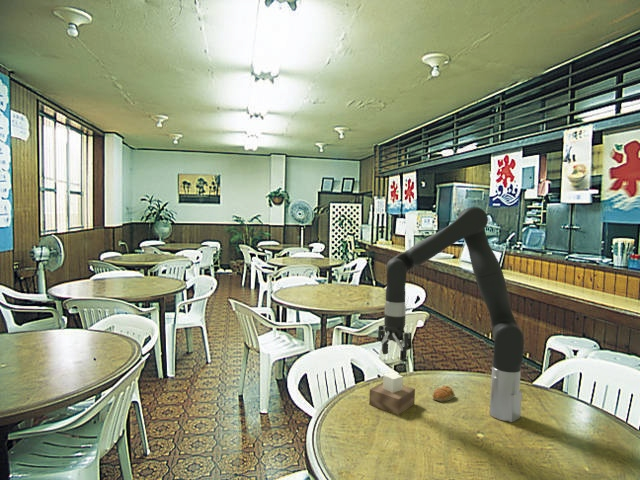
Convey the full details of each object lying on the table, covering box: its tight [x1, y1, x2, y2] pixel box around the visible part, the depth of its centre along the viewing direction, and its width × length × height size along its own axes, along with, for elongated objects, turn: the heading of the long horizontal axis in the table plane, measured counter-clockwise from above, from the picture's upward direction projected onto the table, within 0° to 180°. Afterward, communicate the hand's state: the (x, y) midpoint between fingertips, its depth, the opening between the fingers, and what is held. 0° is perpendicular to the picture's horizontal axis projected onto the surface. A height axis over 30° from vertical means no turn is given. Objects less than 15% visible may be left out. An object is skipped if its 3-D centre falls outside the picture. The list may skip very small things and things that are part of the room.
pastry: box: [432, 385, 456, 403], centre depth 166 cm, size 9×7×4 cm
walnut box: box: [368, 382, 416, 416], centre depth 159 cm, size 12×12×6 cm
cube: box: [382, 371, 404, 393], centre depth 159 cm, size 5×5×5 cm
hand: (393, 356), depth 158 cm, fingers open, 8 cm apart
